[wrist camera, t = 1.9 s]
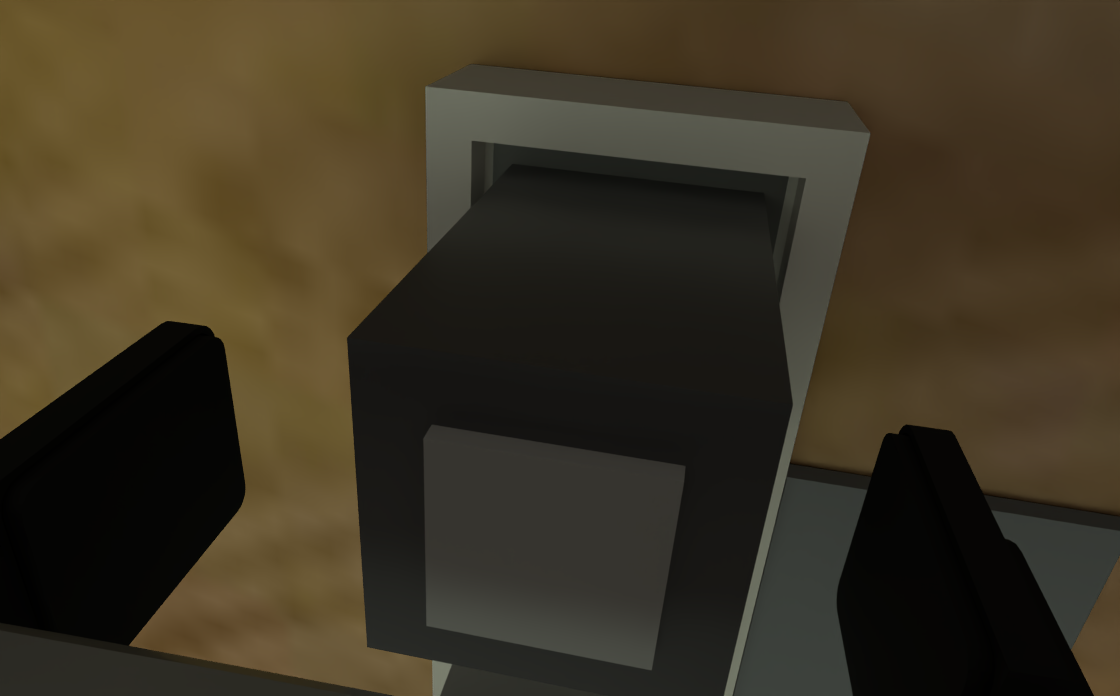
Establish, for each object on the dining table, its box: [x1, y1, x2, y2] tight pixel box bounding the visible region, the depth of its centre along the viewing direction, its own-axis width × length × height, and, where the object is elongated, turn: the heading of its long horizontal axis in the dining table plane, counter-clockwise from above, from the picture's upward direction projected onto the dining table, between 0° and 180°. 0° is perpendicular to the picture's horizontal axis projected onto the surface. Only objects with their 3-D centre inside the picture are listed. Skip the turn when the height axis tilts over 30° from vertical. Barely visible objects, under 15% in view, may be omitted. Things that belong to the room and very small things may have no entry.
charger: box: [347, 164, 793, 696], centre depth 13 cm, size 5×5×8 cm
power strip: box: [425, 64, 871, 696], centre depth 18 cm, size 8×20×8 cm, turn 177°
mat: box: [732, 464, 1120, 696], centre depth 23 cm, size 8×12×1 cm, turn 177°
